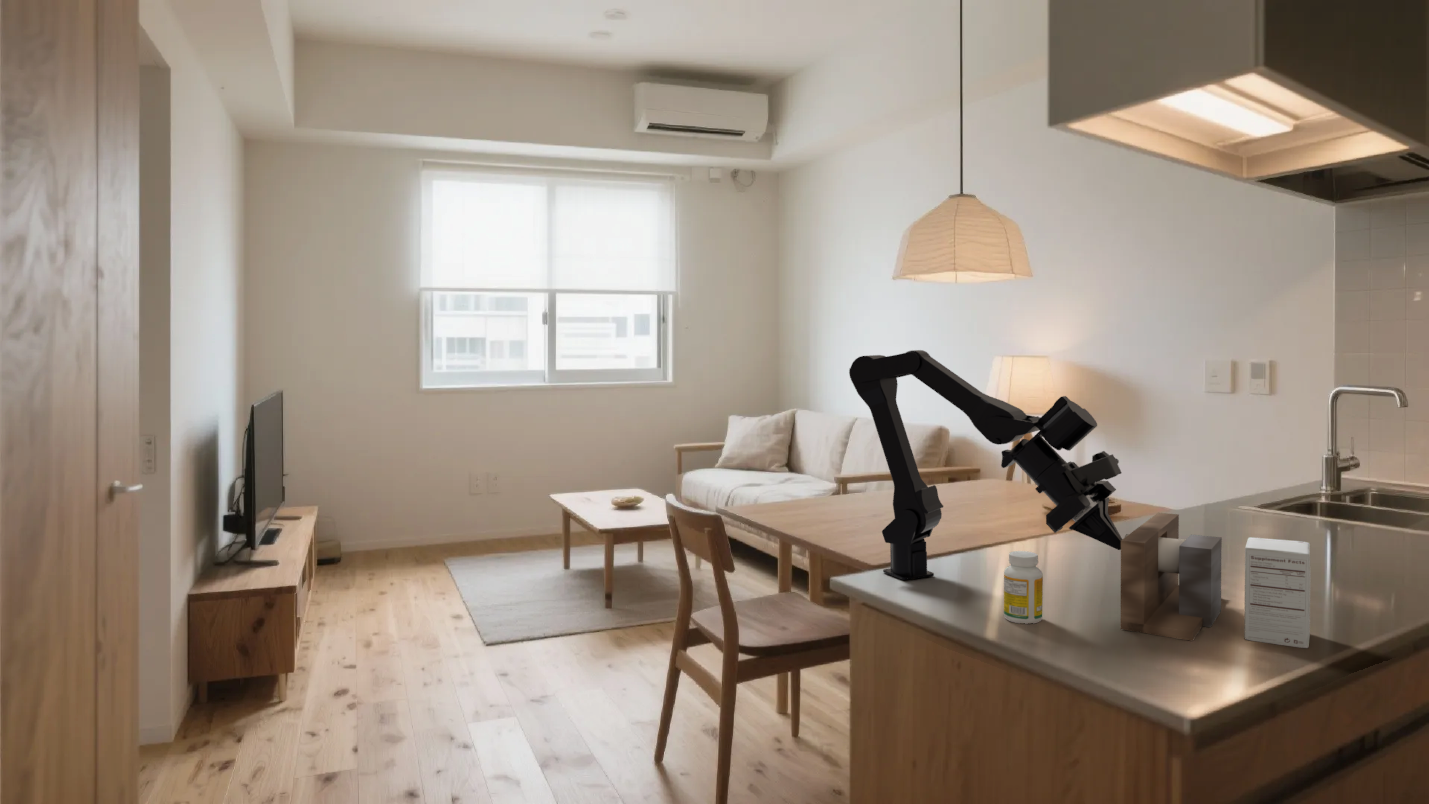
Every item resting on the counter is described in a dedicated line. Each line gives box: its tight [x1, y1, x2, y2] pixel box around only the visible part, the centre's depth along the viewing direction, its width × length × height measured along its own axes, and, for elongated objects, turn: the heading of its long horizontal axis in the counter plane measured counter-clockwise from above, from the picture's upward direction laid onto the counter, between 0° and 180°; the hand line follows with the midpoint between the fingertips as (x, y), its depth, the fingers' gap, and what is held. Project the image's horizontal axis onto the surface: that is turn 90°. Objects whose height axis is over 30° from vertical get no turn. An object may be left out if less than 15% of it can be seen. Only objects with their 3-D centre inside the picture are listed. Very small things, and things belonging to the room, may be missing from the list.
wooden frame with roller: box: [1120, 512, 1223, 642], centre depth 132 cm, size 10×24×12 cm, turn 143°
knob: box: [1123, 533, 1186, 575], centre depth 134 cm, size 8×5×5 cm, turn 53°
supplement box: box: [1244, 536, 1311, 649], centre depth 121 cm, size 7×7×13 cm
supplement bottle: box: [1003, 550, 1044, 625], centre depth 131 cm, size 5×5×10 cm
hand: (1122, 547), depth 136 cm, fingers closed, pressing on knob
